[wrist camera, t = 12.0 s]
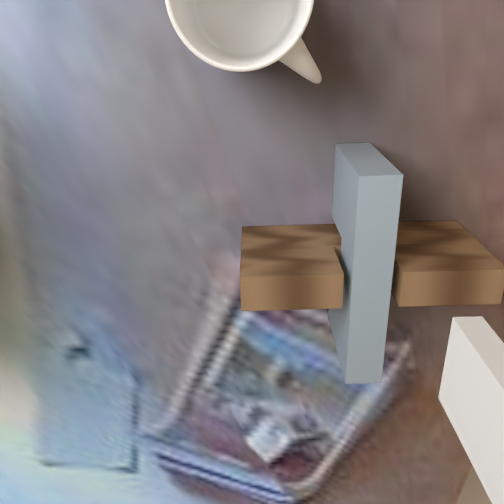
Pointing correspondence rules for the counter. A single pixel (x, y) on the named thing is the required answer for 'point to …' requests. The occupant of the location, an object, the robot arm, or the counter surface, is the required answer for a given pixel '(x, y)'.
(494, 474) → the robot arm
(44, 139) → the counter surface
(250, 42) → the mug
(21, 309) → the counter surface
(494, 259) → the walnut board
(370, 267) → the grey flat rectangular block
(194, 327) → the counter surface
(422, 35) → the counter surface
